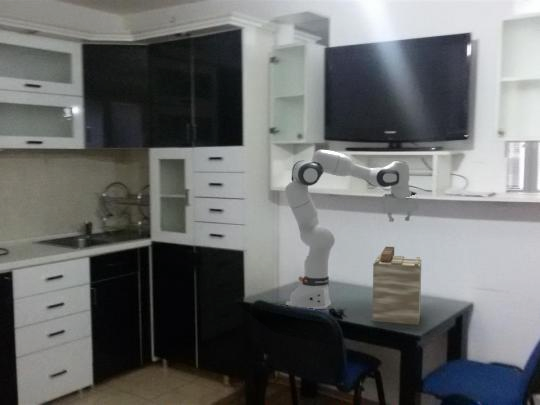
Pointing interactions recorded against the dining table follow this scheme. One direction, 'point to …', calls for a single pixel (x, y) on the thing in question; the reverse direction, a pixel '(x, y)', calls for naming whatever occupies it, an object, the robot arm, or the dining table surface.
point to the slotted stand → (397, 290)
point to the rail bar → (387, 254)
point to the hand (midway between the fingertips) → (399, 221)
